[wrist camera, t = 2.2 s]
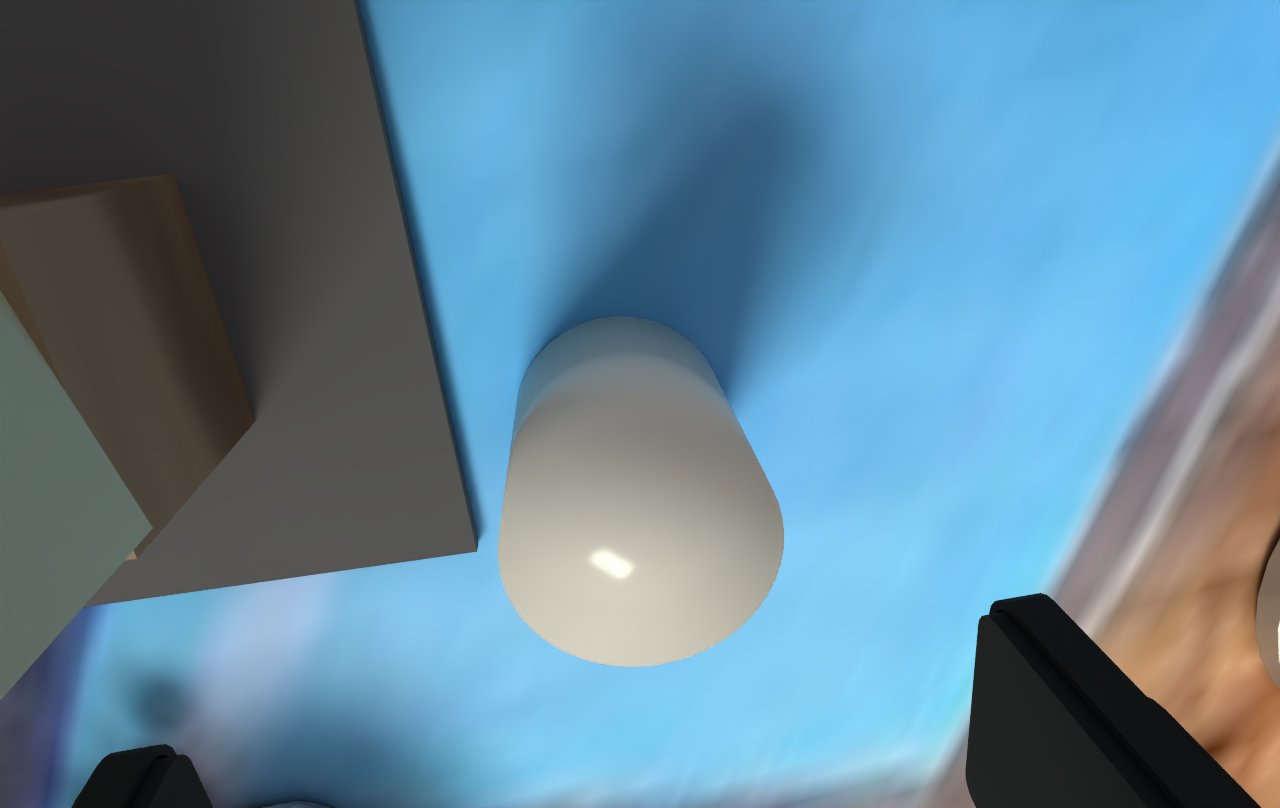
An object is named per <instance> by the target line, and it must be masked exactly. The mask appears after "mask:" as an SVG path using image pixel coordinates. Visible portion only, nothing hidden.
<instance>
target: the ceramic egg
mask: <svg viewBox="0 0 1280 808" xmlns="http://www.w3.org/2000/svg"><path fill="white" fill-rule="evenodd" d="M783 548H784V528H783V519H782V514H781V511H780V507H779V504H778V501H777V499H776V496H775V494H774V492H773V490H772V488H771V485H770V483H769V481H768V479H767V477H766V476H765V474H764V472H763V470H762V468H761V466H760V464H759V462H758V460H757V458H756V456H755V454H754V452H753V450H752V448H751V446H750V444H749V442H748V440H747V438H746V436H745V434H744V432H743V430H742V428H741V426H740V424H739V422H738V420H737V418H736V416H735V414H734V412H733V410H732V408H731V406H730V404H729V402H728V400H727V398H726V396H725V394H724V392H723V390H722V388H721V386H720V384H719V382H718V380H717V378H716V376H715V374H714V372H713V370H712V368H711V366H710V364H709V363H708V361H707V360H706V358H705V357H704V355H703V354H702V353H701V352H700V350H699V349H698V348H697V347H696V346H695V345H694V344H693V343H692V342H691V341H690V340H688V339H687V338H686V337H685V336H683V335H682V334H680V333H679V332H677V331H676V330H674V329H672V328H670V327H668V326H666V325H664V324H662V323H659V322H656V321H653V320H650V319H645V318H640V317H633V316H610V317H603V318H598V319H593V320H590V321H587V322H584V323H581V324H578V325H576V326H574V327H572V328H570V329H568V330H566V331H565V332H563V333H562V334H560V335H558V336H557V337H555V338H554V339H553V340H552V341H551V342H549V343H548V344H547V345H546V346H545V347H544V348H543V349H542V350H541V351H540V352H539V353H538V355H537V356H536V357H535V358H534V360H533V361H532V363H531V364H530V366H529V367H528V369H527V371H526V373H525V375H524V377H523V379H522V382H521V385H520V389H519V392H518V397H517V403H516V410H515V418H514V426H513V433H512V441H511V448H510V456H509V463H508V471H507V479H506V486H505V494H504V501H503V509H502V517H501V524H500V532H499V539H498V562H499V570H500V575H501V579H502V582H503V585H504V589H505V591H506V593H507V595H508V597H509V599H510V601H511V603H512V605H513V606H514V608H515V609H516V611H517V612H518V614H519V615H520V617H521V618H522V619H523V620H524V621H525V622H526V623H527V625H528V626H529V627H530V628H531V629H532V630H533V631H535V632H536V633H537V634H538V635H539V636H540V637H542V638H543V639H544V640H546V641H547V642H549V643H550V644H552V645H553V646H555V647H557V648H558V649H561V650H563V651H565V652H567V653H569V654H571V655H573V656H576V657H579V658H582V659H585V660H588V661H592V662H596V663H600V664H605V665H613V666H622V667H641V666H651V665H659V664H664V663H669V662H674V661H677V660H681V659H684V658H687V657H690V656H693V655H695V654H697V653H700V652H702V651H704V650H707V649H708V648H710V647H712V646H714V645H716V644H717V643H719V642H721V641H723V640H724V639H725V638H727V637H728V636H729V635H731V634H732V633H734V632H735V631H736V630H737V629H739V628H740V627H741V626H742V625H743V624H744V623H745V622H746V621H747V620H748V619H749V618H750V617H751V616H752V615H753V614H754V613H755V611H756V610H757V609H758V608H759V607H760V605H761V604H762V602H763V601H764V599H765V598H766V596H767V595H768V593H769V591H770V589H771V587H772V585H773V583H774V581H775V579H776V576H777V573H778V570H779V567H780V564H781V559H782V554H783Z"/></svg>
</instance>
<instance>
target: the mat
mask: <svg viewBox="0 0 1280 808" xmlns="http://www.w3.org/2000/svg"><path fill="white" fill-rule="evenodd" d="M165 174H174V177H175V180H176V183H177V186H178V189H179V192H180V195H181V198H182V201H183V204H184V207H185V210H186V213H187V216H188V219H189V222H190V225H191V228H192V231H193V234H194V237H195V240H196V243H197V246H198V249H199V252H200V255H201V258H202V261H203V264H204V267H205V271H206V274H207V277H208V280H209V283H210V286H211V289H212V292H213V295H214V298H215V301H216V304H217V307H218V310H219V313H220V316H221V319H222V322H223V325H224V328H225V331H226V334H227V337H228V340H229V343H230V346H231V349H232V352H233V355H234V358H235V361H236V364H237V367H238V370H239V373H240V376H241V379H242V382H243V385H244V388H245V391H246V394H247V397H248V400H249V403H250V406H251V410H252V413H253V416H254V419H255V423H254V424H253V425H252V426H251V427H250V428H249V430H248V431H247V432H246V433H245V434H244V435H243V437H242V438H241V439H240V440H239V441H238V442H237V444H236V445H235V446H234V447H233V448H232V449H231V450H230V452H229V453H228V454H227V455H226V456H225V457H224V459H223V460H222V461H221V462H220V463H219V464H218V466H217V467H216V468H215V469H214V470H213V471H212V472H211V474H210V475H209V476H208V477H207V478H206V479H205V481H204V482H203V483H202V484H201V485H200V486H199V488H198V489H197V490H196V491H195V492H194V493H193V495H192V496H191V497H190V498H189V499H188V500H187V501H186V503H185V504H184V505H183V506H182V507H181V508H180V510H179V511H178V512H177V513H176V514H175V515H174V517H173V518H172V519H171V520H170V521H169V522H168V523H167V525H166V526H165V527H164V528H163V529H162V530H161V532H160V533H159V534H158V535H157V536H156V537H155V539H154V540H153V541H152V542H151V543H150V544H149V545H148V547H147V548H146V549H145V550H144V551H143V552H142V554H141V555H140V556H139V557H138V558H137V559H131V560H124V561H123V563H122V564H121V565H120V566H119V567H118V568H117V569H116V570H115V572H114V573H113V574H112V575H111V576H110V577H109V578H108V579H107V581H106V582H105V583H104V584H103V585H102V586H101V587H100V588H99V590H98V591H97V592H96V593H95V594H94V595H93V596H92V598H91V599H90V600H89V601H88V602H87V603H86V604H85V605H84V607H88V606H95V605H102V604H109V603H116V602H123V601H131V600H138V599H145V598H152V597H159V596H166V595H173V594H180V593H187V592H194V591H201V590H208V589H215V588H222V587H230V586H237V585H244V584H251V583H258V582H265V581H272V580H279V579H286V578H293V577H300V576H307V575H314V574H321V573H328V572H336V571H343V570H350V569H357V568H364V567H371V566H378V565H385V564H392V563H399V562H406V561H413V560H420V559H427V558H434V557H442V556H449V555H456V554H463V553H470V552H477V548H478V538H477V534H476V529H475V525H474V520H473V516H472V511H471V507H470V502H469V498H468V493H467V489H466V484H465V480H464V475H463V471H462V466H461V462H460V457H459V453H458V448H457V444H456V439H455V435H454V430H453V426H452V421H451V417H450V412H449V408H448V403H447V399H446V394H445V390H444V385H443V381H442V376H441V372H440V367H439V363H438V358H437V354H436V349H435V345H434V340H433V336H432V331H431V327H430V322H429V318H428V313H427V309H426V304H425V300H424V295H423V291H422V286H421V282H420V277H419V273H418V268H417V264H416V259H415V255H414V250H413V246H412V241H411V237H410V232H409V228H408V223H407V219H406V214H405V210H404V205H403V201H402V196H401V192H400V187H399V183H398V178H397V174H396V169H395V165H394V160H393V156H392V151H391V147H390V142H389V138H388V133H387V129H386V124H385V120H384V115H383V111H382V106H381V102H380V97H379V93H378V88H377V84H376V79H375V75H374V70H373V66H372V61H371V57H370V52H369V48H368V43H367V39H366V34H365V30H364V25H363V21H362V16H361V12H360V7H359V3H358V0H0V194H6V193H14V192H22V191H31V190H39V189H47V188H56V187H64V186H73V185H81V184H89V183H98V182H106V181H114V180H123V179H131V178H140V177H148V176H156V175H165Z"/></svg>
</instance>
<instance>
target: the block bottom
mask: <svg viewBox="0 0 1280 808" xmlns="http://www.w3.org/2000/svg"><path fill="white" fill-rule="evenodd" d="M0 290H1V292H2V294H3V295H4V297H5V298H6V300H7V301H8V303H9V304H10V306H11V308H12V309H13V311H14V312H15V314H16V315H17V317H18V318H19V320H20V322H21V323H22V325H23V326H24V328H25V329H26V331H27V333H28V334H29V336H30V337H31V339H32V340H33V342H34V343H35V345H36V347H37V348H38V350H39V351H40V353H41V354H42V356H43V357H44V359H45V361H46V362H47V364H48V365H49V367H50V368H51V370H52V371H53V373H54V375H55V376H56V378H57V379H58V381H59V382H60V384H61V385H62V387H63V389H64V390H65V392H66V393H67V395H68V396H69V398H70V399H71V401H72V403H73V404H74V406H75V407H76V409H77V410H78V412H79V414H80V415H81V417H82V418H83V420H84V421H85V423H86V424H87V426H88V428H89V429H90V431H91V432H92V434H93V435H94V437H95V438H96V440H97V442H98V443H99V445H100V446H101V448H102V449H103V451H104V452H105V454H106V456H107V457H108V459H109V460H110V462H111V463H112V465H113V466H114V468H115V470H116V471H117V473H118V474H119V476H120V477H121V479H122V481H123V482H124V484H125V485H126V487H127V488H128V490H129V491H130V493H131V495H132V496H133V498H134V499H135V501H136V502H137V504H138V505H139V507H140V509H141V510H142V512H143V513H144V515H145V516H146V518H147V519H148V521H149V523H150V524H151V526H152V527H153V529H152V530H151V531H150V532H149V533H148V534H147V535H146V537H145V538H144V539H143V540H142V541H141V542H140V543H139V544H138V546H137V547H136V548H135V549H134V550H133V551H132V552H131V554H130V555H129V556H128V557H127V558H126V559H125V560H131V559H137V558H138V557H139V556H140V555H141V554H142V552H143V551H144V550H145V549H146V548H147V547H148V545H149V544H150V543H151V542H152V541H153V540H154V539H155V537H156V536H157V535H158V534H159V533H160V532H161V530H162V529H163V528H164V527H165V526H166V525H167V523H168V522H169V521H170V520H171V519H172V518H173V517H174V515H175V514H176V513H177V512H178V511H179V510H180V508H181V507H182V506H183V505H184V504H185V503H186V501H187V500H188V499H189V498H190V497H191V496H192V495H193V493H194V492H195V491H196V490H197V489H198V488H199V486H200V485H201V484H202V483H203V482H204V481H205V479H206V478H207V477H208V476H209V475H210V474H211V472H212V471H213V470H214V469H215V468H216V467H217V466H218V464H219V463H220V462H221V461H222V460H223V459H224V457H225V456H226V455H227V454H228V453H229V452H230V450H231V449H232V448H233V447H234V446H235V445H236V444H237V442H238V441H239V440H240V439H241V438H242V437H243V435H244V434H245V433H246V432H247V431H248V430H249V428H250V427H251V426H252V425H253V424H254V423H255V419H254V416H253V413H252V410H251V406H250V403H249V400H248V397H247V394H246V391H245V388H244V385H243V382H242V379H241V376H240V373H239V370H238V367H237V364H236V361H235V358H234V355H233V352H232V349H231V346H230V343H229V340H228V337H227V334H226V331H225V328H224V325H223V322H222V319H221V316H220V313H219V310H218V307H217V304H216V301H215V298H214V295H213V292H212V289H211V286H210V283H209V280H208V277H207V274H206V271H205V267H204V264H203V261H202V258H201V255H200V252H199V249H198V246H197V243H196V240H195V237H194V234H193V231H192V228H191V225H190V222H189V219H188V216H187V213H186V210H185V207H184V204H183V201H182V198H181V195H180V192H179V189H178V186H177V183H176V180H175V177H174V174H165V175H156V176H148V177H140V178H131V179H123V180H114V181H106V182H98V183H89V184H81V185H73V186H64V187H56V188H47V189H39V190H31V191H22V192H14V193H6V194H0Z"/></svg>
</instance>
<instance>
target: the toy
mask: <svg viewBox="0 0 1280 808" xmlns="http://www.w3.org/2000/svg"><path fill="white" fill-rule="evenodd" d="M79 795H80V794H79ZM79 795H78V796H79ZM77 798H78V797H77ZM77 798H76V799H77ZM75 801H76V800H75ZM74 803H75V802H74ZM260 808H331V807H328V806H324V805H320V804H316V803H312V802H307V801H302V800H300V801H293V802H287V803H280V804H275V805H270V806H265V807H260Z"/></svg>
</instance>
